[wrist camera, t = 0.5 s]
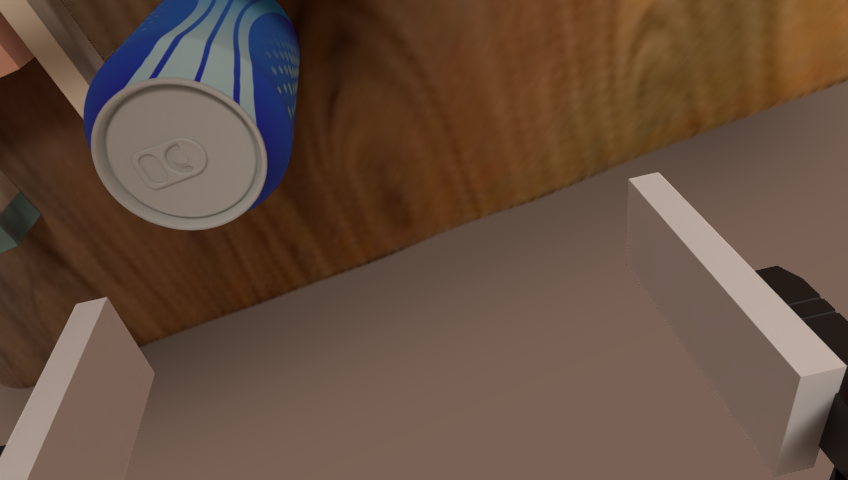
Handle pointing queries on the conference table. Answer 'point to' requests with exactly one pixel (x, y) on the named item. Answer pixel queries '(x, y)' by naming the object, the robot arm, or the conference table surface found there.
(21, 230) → the tan piece
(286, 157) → the beer can
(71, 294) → the conference table surface
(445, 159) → the conference table surface
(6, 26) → the block
